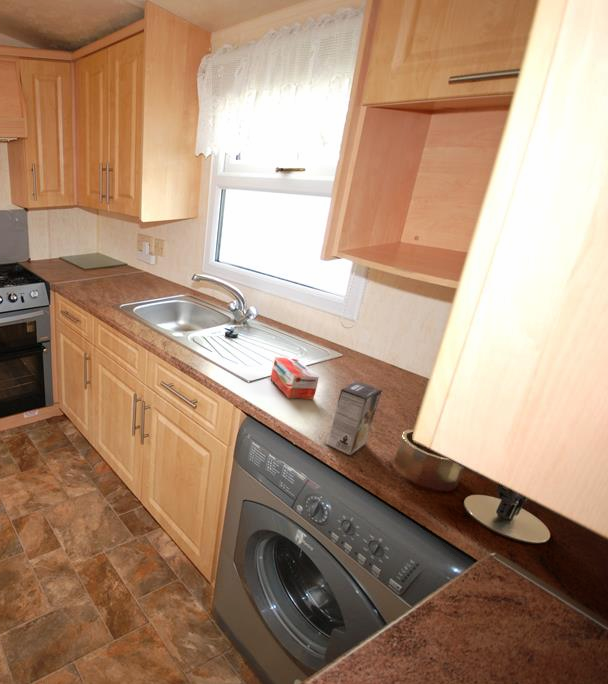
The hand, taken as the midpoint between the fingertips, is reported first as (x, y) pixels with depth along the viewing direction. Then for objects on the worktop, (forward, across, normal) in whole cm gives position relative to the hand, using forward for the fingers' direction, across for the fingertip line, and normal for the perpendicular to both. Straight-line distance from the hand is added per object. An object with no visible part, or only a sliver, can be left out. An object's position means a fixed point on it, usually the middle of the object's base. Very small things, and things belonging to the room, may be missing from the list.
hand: (506, 514), depth 93 cm
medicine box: (+2, +5, +62) cm, 62 cm away
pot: (+2, 0, +16) cm, 16 cm away
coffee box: (+2, -7, +32) cm, 33 cm away
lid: (+1, 0, 0) cm, 1 cm away
